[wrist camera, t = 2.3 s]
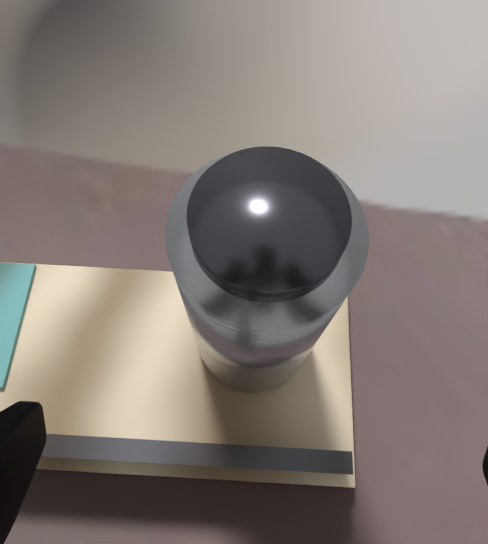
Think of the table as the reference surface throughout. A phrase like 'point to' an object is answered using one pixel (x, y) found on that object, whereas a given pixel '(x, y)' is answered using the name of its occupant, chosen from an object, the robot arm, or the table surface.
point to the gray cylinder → (263, 260)
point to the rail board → (162, 385)
